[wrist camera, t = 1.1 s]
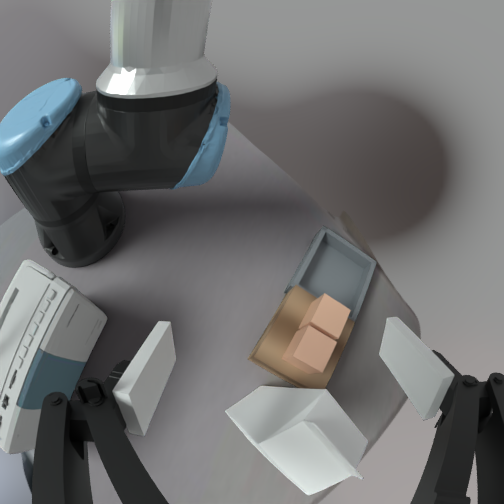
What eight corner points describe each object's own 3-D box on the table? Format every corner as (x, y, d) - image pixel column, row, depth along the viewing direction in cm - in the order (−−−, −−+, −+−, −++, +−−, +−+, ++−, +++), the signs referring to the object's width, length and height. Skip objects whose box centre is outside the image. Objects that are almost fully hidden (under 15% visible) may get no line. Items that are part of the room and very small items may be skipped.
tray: (343, 329, 38) (353, 325, 36) (284, 292, 39) (290, 285, 37) (367, 269, 44) (376, 261, 42) (316, 234, 45) (323, 225, 42)
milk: (260, 385, 33) (351, 385, 14) (287, 417, 31) (397, 445, 12) (223, 411, 30) (270, 456, 11) (251, 444, 29) (329, 512, 10)
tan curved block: (309, 393, 33) (321, 394, 30) (247, 359, 34) (253, 356, 31) (341, 328, 39) (355, 322, 35) (286, 293, 39) (296, 284, 36)
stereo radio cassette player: (60, 442, 22) (-29, 470, 5) (19, 407, 22) (-76, 403, 5) (114, 319, 32) (46, 257, 15) (71, 291, 32) (-5, 215, 15)
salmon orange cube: (323, 343, 33) (338, 338, 29) (298, 328, 33) (310, 321, 30) (335, 317, 35) (350, 310, 31) (311, 302, 35) (324, 293, 32)
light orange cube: (308, 374, 31) (322, 372, 27) (281, 358, 31) (292, 355, 28) (322, 346, 33) (337, 342, 29) (296, 331, 33) (309, 325, 29)
